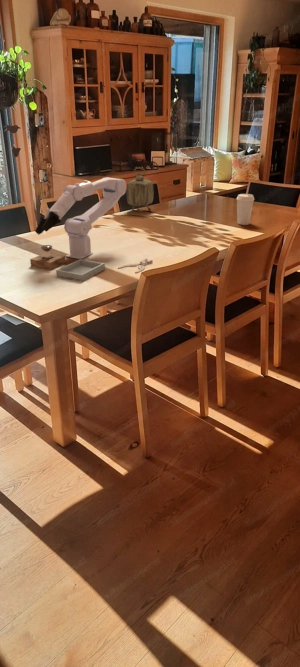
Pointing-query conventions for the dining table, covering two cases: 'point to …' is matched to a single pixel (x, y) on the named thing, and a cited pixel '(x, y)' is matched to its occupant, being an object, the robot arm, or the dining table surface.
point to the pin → (47, 251)
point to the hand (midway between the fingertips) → (40, 231)
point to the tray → (80, 270)
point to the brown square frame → (47, 261)
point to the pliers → (142, 263)
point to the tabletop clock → (139, 191)
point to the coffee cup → (244, 208)
